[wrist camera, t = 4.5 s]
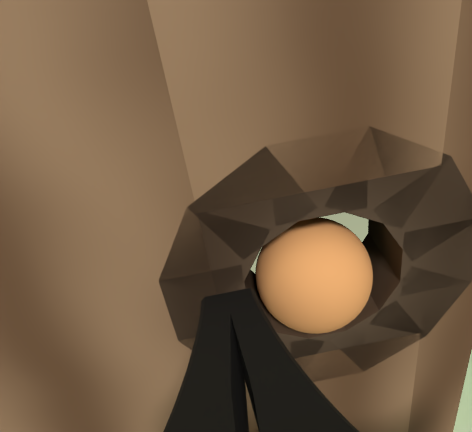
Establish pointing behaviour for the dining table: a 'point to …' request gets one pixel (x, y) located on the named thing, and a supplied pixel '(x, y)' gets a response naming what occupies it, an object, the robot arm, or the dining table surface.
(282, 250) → the orange ball
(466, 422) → the dining table surface
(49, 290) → the board
